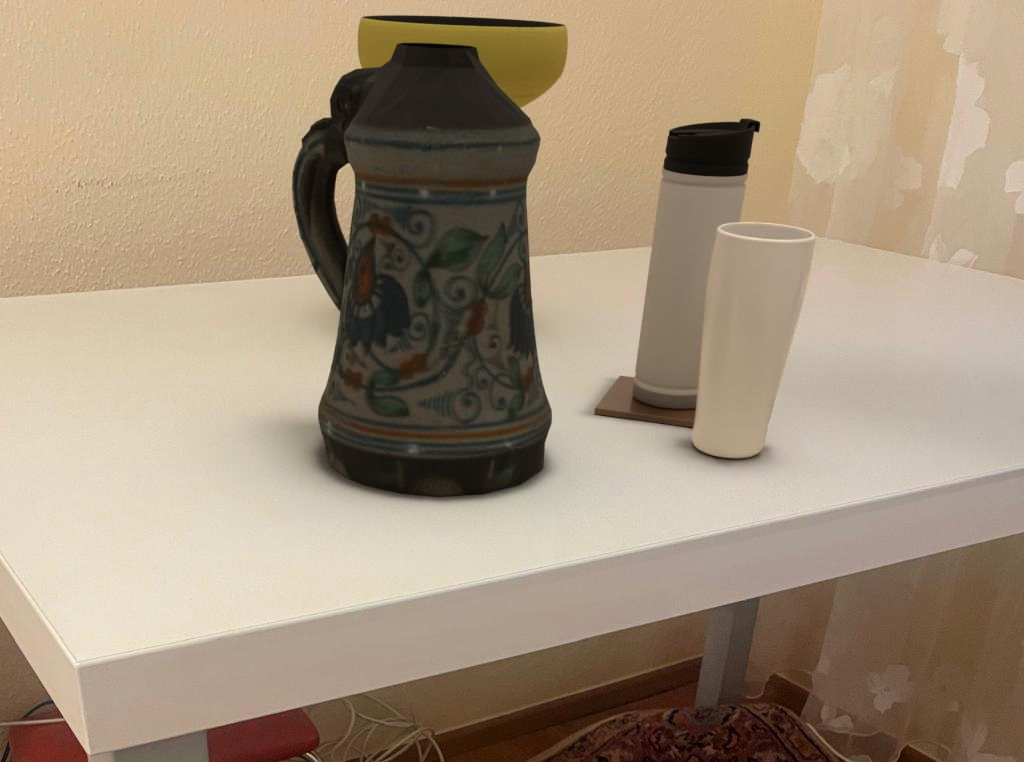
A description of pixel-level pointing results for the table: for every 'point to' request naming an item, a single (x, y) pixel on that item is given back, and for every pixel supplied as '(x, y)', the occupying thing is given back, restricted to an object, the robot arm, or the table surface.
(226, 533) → the table surface
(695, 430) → the drinking glass
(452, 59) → the beer stein
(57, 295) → the table surface
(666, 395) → the travel mug
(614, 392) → the coaster
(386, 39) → the cocktail glass
